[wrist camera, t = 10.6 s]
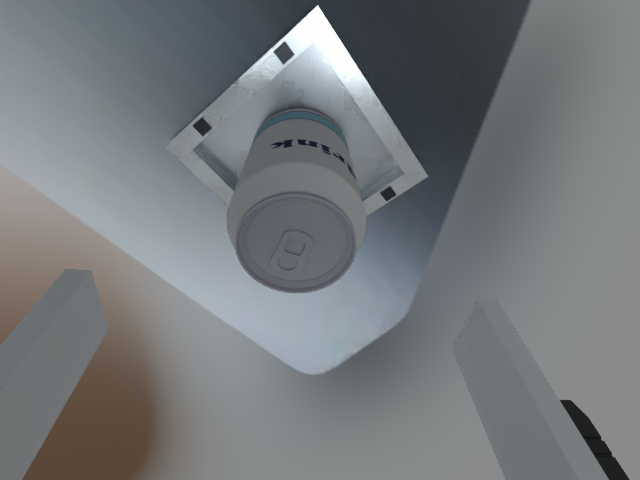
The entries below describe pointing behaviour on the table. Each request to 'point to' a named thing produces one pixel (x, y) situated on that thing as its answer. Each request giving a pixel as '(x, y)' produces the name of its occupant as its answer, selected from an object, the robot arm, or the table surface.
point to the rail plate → (305, 93)
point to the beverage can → (297, 204)
